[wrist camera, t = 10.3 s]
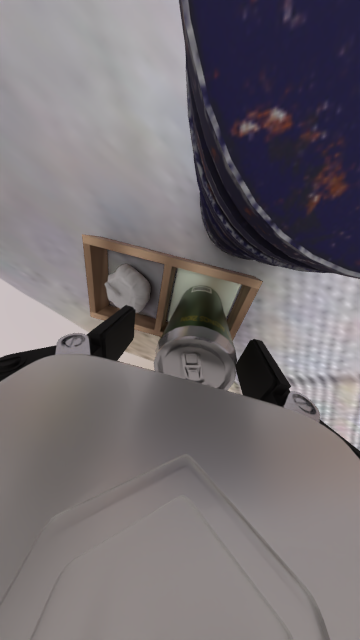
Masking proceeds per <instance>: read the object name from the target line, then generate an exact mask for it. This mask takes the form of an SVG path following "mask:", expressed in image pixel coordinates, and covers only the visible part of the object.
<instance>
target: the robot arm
mask: <svg viewBox="0 0 360 640" xmlns="http://www.w3.org/2000/svg"><path fill="white" fill-rule="evenodd" d="M135 312H136V310H135V309H134V307H132V306H128V305H125V306H124V307H122V308H121V309H120V310H118V311H117V312H116V313H114V314H113V315H112V316H110V317H109V318H108V319H107V320H105V321H104V322H103V323H101V324H100V325H99V326H97V327H96V328H95V329H93V330H92V331H91V332H90V333H88V334H87V335H85V334H82V333H73V334H68V335H66V336H64V337H62V338H60V339H59V340H58V342H57V345H56V346H51V347H46V348H41V349H35V350H30V351H25V352H20V353H15V354H10V355H6V356H4V357H1V358H0V640H360V451H359V450H358V449H357V448H355V447H354V446H353V445H351V444H350V443H349V442H348V441H346V440H345V439H344V438H343V437H341V436H340V435H339V434H338V433H336V432H335V431H334V430H332V429H331V428H330V427H329V426H327V425H326V424H325V423H324V422H322V421H321V420H320V412H319V410H318V408H317V407H316V406H315V404H314V403H313V402H312V401H311V400H309V399H308V398H307V397H306V396H304V395H302V394H301V393H298V392H295V391H292V392H290V390H289V388H290V387H291V385H290V384H289V382H288V381H287V379H286V378H285V376H284V374H283V373H282V371H281V370H280V368H279V367H278V365H277V363H276V362H275V360H274V359H273V357H272V356H271V354H270V353H269V351H268V349H267V348H266V346H265V345H264V343H263V342H262V341H260V340H256V339H253V340H251V341H250V342H249V343H248V345H247V347H246V348H245V350H244V352H243V353H242V355H241V357H240V358H239V360H238V362H237V363H236V372H237V375H238V379H239V382H240V386H241V390H242V393H243V395H240V394H236V393H233V392H229V391H226V390H222V389H219V388H215V387H211V386H208V385H204V384H201V383H197V382H193V381H190V380H186V379H182V378H179V377H175V376H171V375H168V374H164V373H160V372H157V371H153V370H149V369H145V368H142V367H138V366H134V365H130V364H126V363H123V362H119V361H117V360H118V359H119V358H120V356H121V355H122V354H123V352H124V351H125V350H126V348H127V347H128V346H129V344H130V343H131V342H132V340H133V338H134V327H135Z"/></svg>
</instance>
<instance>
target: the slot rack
mask: <svg viewBox="0 0 360 640" xmlns="http://www.w3.org/2000/svg"><path fill="white" fill-rule="evenodd" d="M82 239H83V248H84V258H85V267H86V277H87V286H88V296H89V305H90V314H91V317H94V318H97V319H101V320H104V321H105V320H107V319H108V318H109V317H110V316H112V315H113V314H114V313H116V312H117V311H118V310H120V309H119V308H116V307H113V306H109V300H108V296H107V289H106V286H105V283H106V282H108V255H107V249H108V250H112V251H116V252H120V253H123V254H127V255H131V256H135V257H139V258H142V259H146V260H150V261H154V262H158V263H161V264H165V265H164V271H163V278H162V284H161V290H160V297H159V303H158V310H157V316H156V319H155V318H152V317H148V316H145V315H141V314H138V313H135V327H134V329H135V330H139V331H142V332H146V333H149V334H153V335H156V336H160V337H161V336H162V334H163V332H164V330H165V328H166V326H167V325H168V323H169V322H166V318H167V312H168V307H169V302H170V297H171V292H172V287H173V282H174V277H175V272H176V267H177V268H178V271H177V276H176V281H175V286H174V291H173V295H172V300H171V305H170V310H169V315H168V320H167V321H170V319H171V317H172V315H173V313H174V311H175V309H176V307H177V305H178V303H179V302H180V300H181V298H182V296H183V295H184V293H185V292H186V291H187V290H188V289H190V288H191V287H195V286H207V287H210V288H212V289H213V290H214V291H216V292H217V294H218V295H219V297H220V299H221V303H222V306H223V310H224V313H225V317H227V315H228V313H229V311H230V308H231V306H232V304H233V301H234V299H235V297H236V295H237V292H238V290H239V288H240V285H242V287H241V290H240V292H239V294H238V296H237V299H236V301H235V303H234V305H233V308H232V310H231V312H230V314H229V317H228V319H227V324H228V327H229V331H230V334H231V338H232V341H233V339H234V337H235V335H236V333H237V331H238V329H239V327H240V325H241V323H242V321H243V319H244V317H245V315H246V313H247V312H248V310H249V308H250V306H251V304H252V302H253V300H254V298H255V296H256V294H257V292H258V290H259V288H260V286H261V284H262V282H263V281H261V280H259V279H258V278H256V277H254V276H251V275H247V274H243V273H239V272H235V271H231V270H227V269H224V268H220V267H216V266H212V265H208V264H204V263H200V262H197V261H193V260H189V259H185V258H181V257H177V256H173V255H169V254H166V253H162V252H158V251H154V250H150V249H146V248H142V247H139V246H135V245H131V244H127V243H123V242H119V241H115V240H112V239H108V238H104V237H99V236H91V235H83V234H82Z"/></svg>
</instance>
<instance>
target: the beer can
mask: <svg viewBox="0 0 360 640" xmlns="http://www.w3.org/2000/svg"><path fill="white" fill-rule="evenodd" d="M236 363H237V358H236V352H235V348H234V345H233V341H232V338H231V334H230V331H229V327H228V324H227V320H226V317H225V313H224V310H223V306H222V303H221V299H220V297H219V295H218V294H217V292H216V291H214V290H213V289H212V288H210V287H207V286H195V287H191V288H190V289H188V290H187V291H186V292H185V293H184V295H183V296H182V298H181V300H180V302H179V303H178V305H177V307H176V309H175V311H174V313H173V315H172V317H171V319H170V321H169V323H168V325H167V326H166V328H165V330H164V332H163V334H162V336H161V338H160V340H159V342H158V345H157V348H156V357H155V361H154V368H155V371H157V372H160V373H164V374H168V375H171V376H175V377H179V378H182V379H186V380H190V381H193V382H197V383H201V384H204V385H208V386H211V387H215V388H219V389H222V390H226V391H227V390H228V389H229V388H230V387H231V385H232V384H233V383H234V380H235V376H236V370H235V367H236Z"/></svg>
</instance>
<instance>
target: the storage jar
mask: <svg viewBox="0 0 360 640" xmlns="http://www.w3.org/2000/svg"><path fill="white" fill-rule="evenodd" d="M179 4H180V12H181V19H182V26H183V33H184V40H185V50H186V82H187V102H188V118H189V125H190V133H191V140H192V146H193V153H194V163H195V170H196V176H197V182H198V186H199V190H200V207H201V214H202V219H203V222H204V226H205V228H206V231H207V233H208V235H209V237H210V238H211V240H212V241H213V243H214V244H215V245H216V246H217V247H218V248H220V249H221V250H223V251H224V252H226V253H228V254H230V255H233V256H236V257H239V258H243V259H247V260H256V261H258V262H261V263H265V264H269V265H273V266H280V267H285V268H289V269H293V270H298V271H305V272H319V273H335V274H340V275H344V276H348V277H353V278H358V279H360V0H179Z"/></svg>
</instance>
